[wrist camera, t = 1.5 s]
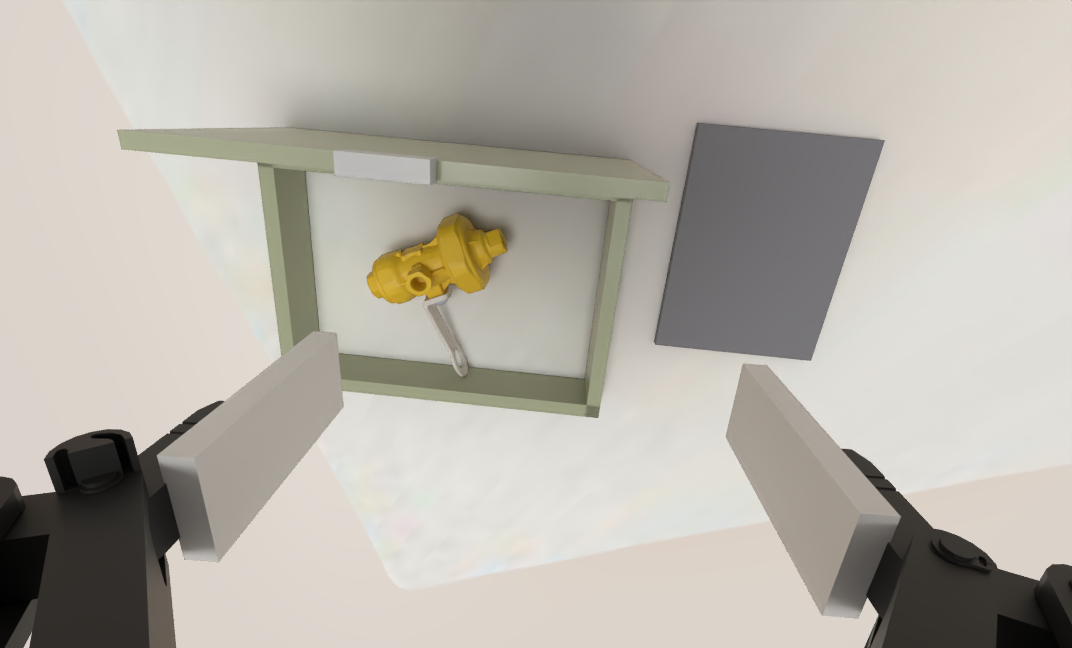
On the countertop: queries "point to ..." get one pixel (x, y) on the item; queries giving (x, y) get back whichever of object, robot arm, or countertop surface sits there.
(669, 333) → the pad
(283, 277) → the case
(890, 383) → the countertop surface
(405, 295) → the pressure relief valve
